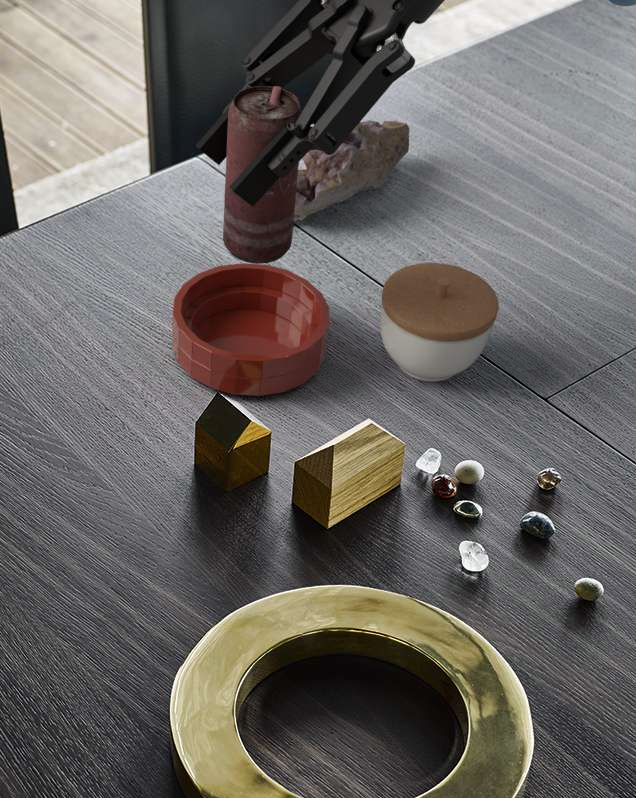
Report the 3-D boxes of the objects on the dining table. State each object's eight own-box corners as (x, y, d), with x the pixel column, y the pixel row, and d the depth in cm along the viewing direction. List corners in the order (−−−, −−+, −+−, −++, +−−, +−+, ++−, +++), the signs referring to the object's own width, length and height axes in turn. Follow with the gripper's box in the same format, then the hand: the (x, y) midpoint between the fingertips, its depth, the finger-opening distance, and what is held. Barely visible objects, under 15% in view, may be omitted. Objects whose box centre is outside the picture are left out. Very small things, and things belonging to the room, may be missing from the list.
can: (296, 229, 114) (309, 86, 104) (285, 270, 109) (298, 124, 99) (230, 220, 114) (237, 76, 104) (217, 260, 110) (222, 114, 100)
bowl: (342, 326, 124) (348, 285, 120) (297, 419, 114) (301, 377, 111) (204, 290, 127) (206, 249, 123) (148, 377, 117) (148, 335, 114)
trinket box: (417, 412, 116) (434, 331, 109) (350, 346, 122) (361, 267, 115) (505, 375, 120) (527, 296, 113) (436, 314, 126) (452, 235, 119)
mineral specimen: (347, 210, 128) (302, 121, 126) (276, 246, 135) (232, 162, 133) (431, 157, 143) (391, 77, 141) (363, 192, 150) (324, 116, 148)
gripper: (510, 34, 95) (300, 258, 102) (386, -65, 107) (205, 141, 114) (463, -25, 90) (245, 215, 96) (338, -123, 102) (151, 98, 108)
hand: (224, 175), depth 105 cm, fingers closed on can, 6 cm apart
